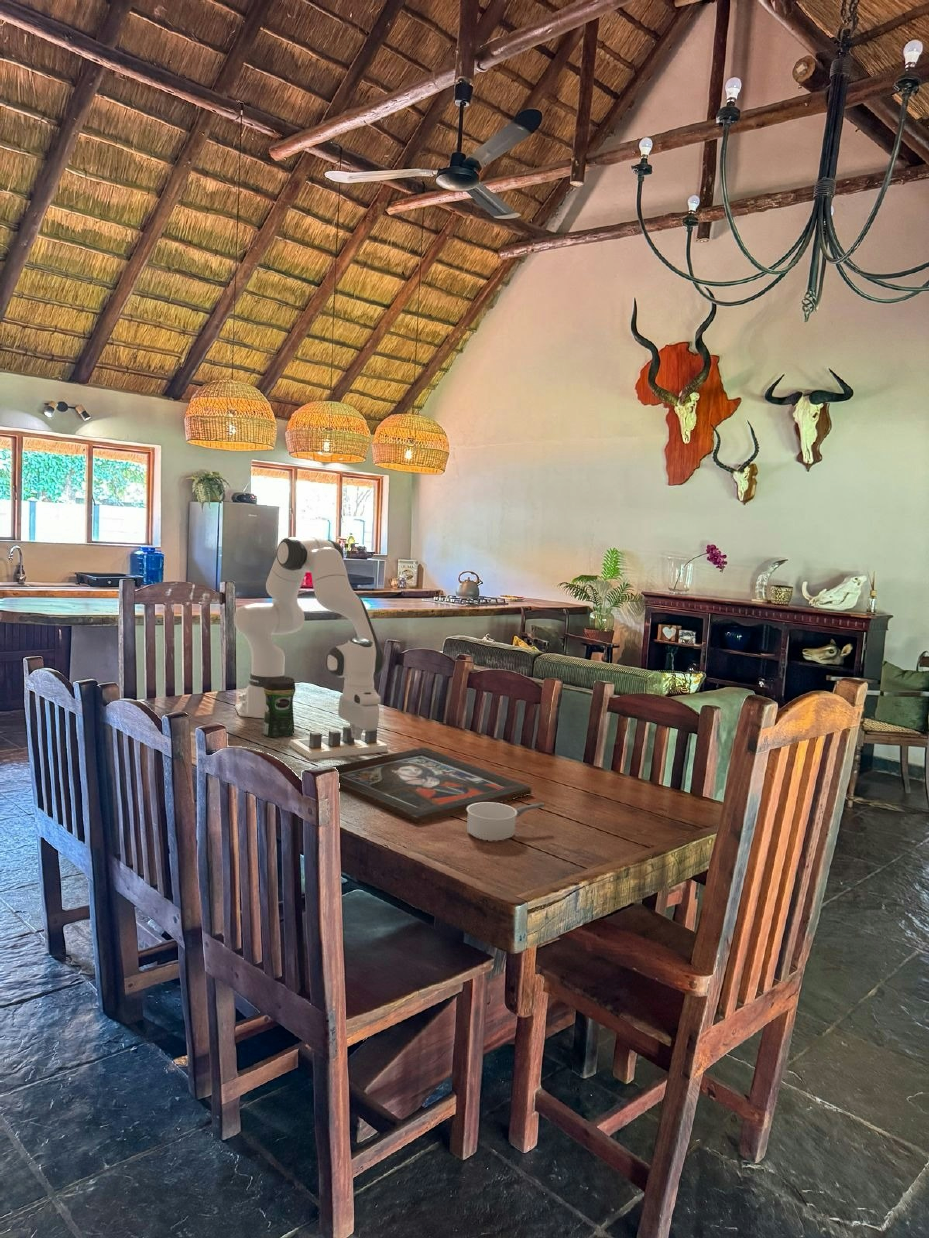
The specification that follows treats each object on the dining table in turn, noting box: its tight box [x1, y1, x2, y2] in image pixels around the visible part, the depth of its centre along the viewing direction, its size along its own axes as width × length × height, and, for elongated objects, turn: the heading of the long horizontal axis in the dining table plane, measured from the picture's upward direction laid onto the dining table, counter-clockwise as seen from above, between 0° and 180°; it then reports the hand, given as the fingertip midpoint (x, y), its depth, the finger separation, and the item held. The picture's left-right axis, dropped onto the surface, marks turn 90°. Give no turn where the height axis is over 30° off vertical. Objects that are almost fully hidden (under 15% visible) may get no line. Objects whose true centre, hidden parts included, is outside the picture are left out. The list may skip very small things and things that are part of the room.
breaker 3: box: [342, 726, 354, 742], centre depth 245 cm, size 3×2×4 cm
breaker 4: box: [364, 728, 378, 743], centre depth 246 cm, size 3×2×4 cm
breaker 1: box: [309, 731, 323, 748], centre depth 236 cm, size 3×2×4 cm
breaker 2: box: [328, 729, 342, 747], centre depth 240 cm, size 3×2×4 cm
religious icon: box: [331, 747, 533, 825], centre depth 214 cm, size 40×45×3 cm
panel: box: [289, 733, 389, 760], centre depth 244 cm, size 15×25×2 cm, turn 123°
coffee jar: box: [262, 676, 296, 738], centre depth 255 cm, size 10×8×19 cm
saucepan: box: [466, 802, 546, 842], centre depth 183 cm, size 12×20×6 cm, turn 121°
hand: (356, 739), depth 241 cm, fingers closed
